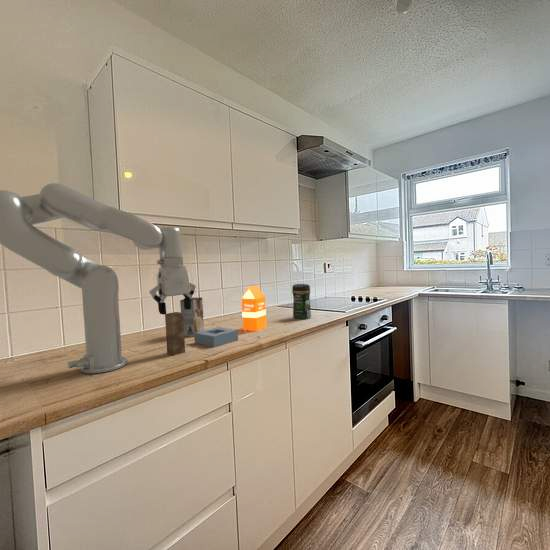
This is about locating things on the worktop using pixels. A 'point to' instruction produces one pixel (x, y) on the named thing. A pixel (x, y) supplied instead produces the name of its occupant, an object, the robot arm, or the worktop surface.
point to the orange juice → (253, 309)
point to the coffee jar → (301, 301)
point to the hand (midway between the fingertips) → (175, 311)
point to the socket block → (216, 336)
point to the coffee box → (193, 317)
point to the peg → (175, 333)
